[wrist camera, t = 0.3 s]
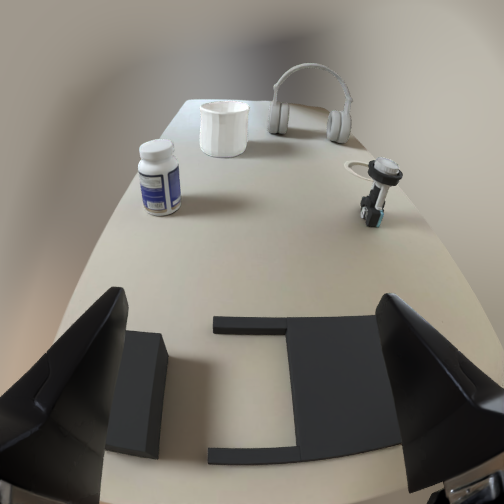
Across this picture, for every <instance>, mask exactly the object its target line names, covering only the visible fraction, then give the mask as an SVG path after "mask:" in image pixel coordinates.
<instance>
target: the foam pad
mask: <svg viewBox="0 0 504 504" xmlns="http://www.w3.org/2000/svg"><path fill="white" fill-rule="evenodd" d="M168 357H169V356H168V353H167V350H166V347H165V344H164V341H163V338H162V335H161V333H149V332H138V331H128V330H126V332H125V340H124V347H123V353H122V358H121V362H120V367H119V371H118V376H117V381H116V385H115V390H114V396H113V401H112V406H111V412H110V418H109V424H108V430H107V436H106V443H105V450H109V451H113V452H118V453H123V454H128V455H133V456H139V457H145V458H151V459H158V454H159V440H160V429H161V418H162V408H163V398H164V389H165V381H166V373H167V365H168Z"/></svg>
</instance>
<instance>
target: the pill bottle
mask: <svg viewBox="0 0 504 504" xmlns="http://www.w3.org/2000/svg"><path fill="white" fill-rule="evenodd" d="M173 152H174V144H173V142H172V141H171V140H168V139H156V140H152V141H148V142H146V143H144V144H142V145H141V146H140V156H141V158H142V160H141V161H140V162H139V165H138V172H139V178H140V185H141V191H142V197H143V203H144V208H145V210H146V211H147V212H148V213H149V214H152V215H156V216H163V215H168V214H171V213H173V212H175V211H176V210H177V209H178V208H179V207H180V205H181V191H180V179H179V166H178V160H177V158H176V157H175V156H174V155H172V154H173Z"/></svg>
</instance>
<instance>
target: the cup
mask: <svg viewBox="0 0 504 504" xmlns="http://www.w3.org/2000/svg"><path fill="white" fill-rule="evenodd" d="M249 109H250V107H249V106H248V104H246V103H243V102H237V101H219V102H211V103H205V104H203V105H201V106H200V112H201V127H200V147H201V149H202V151H203V152H204V153H205V154H207V155H209V156H212V157H219V158H226V157H234V156H237V155H240V154H241V153H243V152H244V151H245V149H246V146H247V139H248V115H249Z"/></svg>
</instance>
